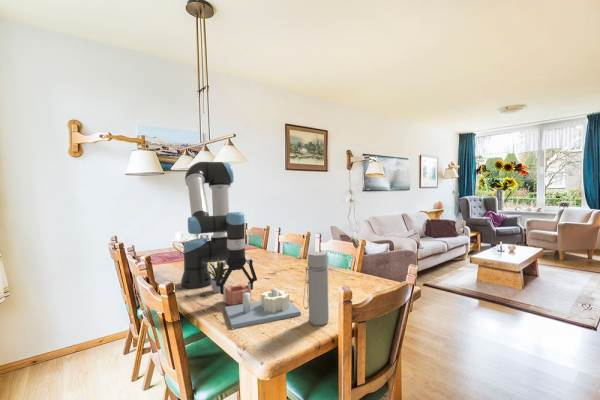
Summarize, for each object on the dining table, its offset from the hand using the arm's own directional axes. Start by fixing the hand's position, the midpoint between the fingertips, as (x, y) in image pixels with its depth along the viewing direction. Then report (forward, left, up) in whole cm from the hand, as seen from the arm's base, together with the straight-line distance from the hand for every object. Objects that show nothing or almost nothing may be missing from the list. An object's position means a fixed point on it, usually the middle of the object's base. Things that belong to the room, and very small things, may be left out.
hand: (237, 299), depth 124 cm
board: (+15, +7, -1) cm, 17 cm away
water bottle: (+31, +23, -2) cm, 39 cm away
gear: (0, 0, 0) cm, 0 cm away
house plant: (-18, -7, -2) cm, 19 cm away
